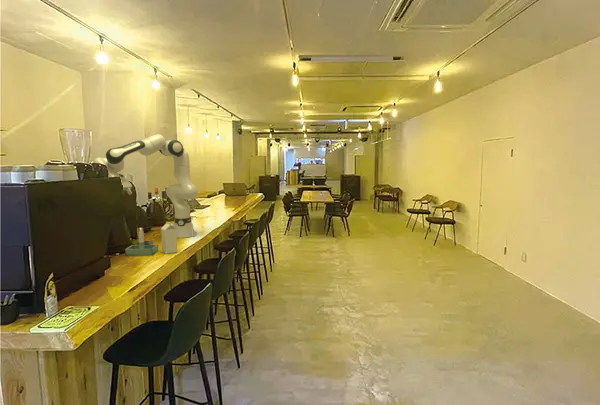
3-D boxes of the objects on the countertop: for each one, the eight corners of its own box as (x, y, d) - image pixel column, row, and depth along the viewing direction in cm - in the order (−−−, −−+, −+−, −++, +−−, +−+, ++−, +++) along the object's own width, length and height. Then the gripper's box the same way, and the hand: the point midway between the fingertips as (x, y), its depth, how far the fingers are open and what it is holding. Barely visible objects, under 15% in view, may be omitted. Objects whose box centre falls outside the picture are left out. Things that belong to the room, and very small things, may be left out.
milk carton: (166, 254, 226) (164, 223, 224) (162, 251, 232) (160, 222, 229) (177, 252, 231) (176, 222, 228) (173, 250, 236) (172, 220, 234)
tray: (132, 251, 233) (131, 245, 232) (158, 250, 234) (157, 244, 233) (125, 255, 222) (124, 249, 221) (152, 255, 223) (152, 249, 222)
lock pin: (140, 251, 229) (139, 227, 227) (145, 251, 229) (144, 227, 227) (138, 252, 226) (137, 228, 224) (143, 252, 226) (142, 228, 224)
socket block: (142, 248, 240) (141, 240, 240) (153, 248, 241) (152, 240, 240) (138, 251, 233) (137, 243, 233) (149, 250, 234) (149, 243, 233)
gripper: (102, 176, 224) (116, 192, 223) (125, 174, 244) (138, 189, 243) (96, 183, 225) (111, 199, 224) (119, 181, 245) (133, 196, 244)
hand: (125, 194), depth 234 cm, fingers open, 8 cm apart
